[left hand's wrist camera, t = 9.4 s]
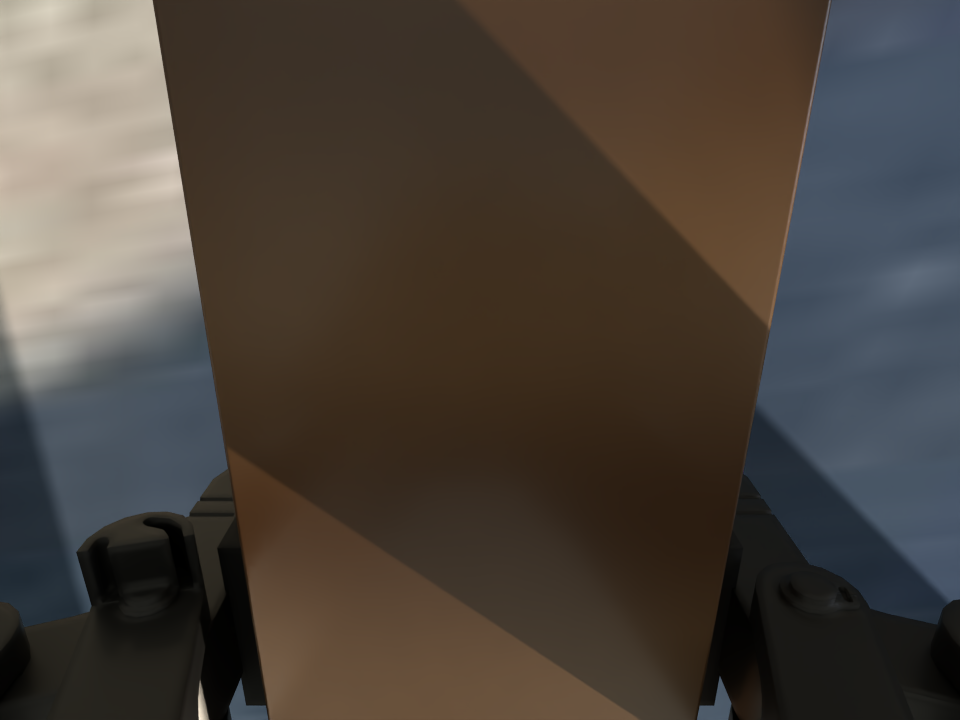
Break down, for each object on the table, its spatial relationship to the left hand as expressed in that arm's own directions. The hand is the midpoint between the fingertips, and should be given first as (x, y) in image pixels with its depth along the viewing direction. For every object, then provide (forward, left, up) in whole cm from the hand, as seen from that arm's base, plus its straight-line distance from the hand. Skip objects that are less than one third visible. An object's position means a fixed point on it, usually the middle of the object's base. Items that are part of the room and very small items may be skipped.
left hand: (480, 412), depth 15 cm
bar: (+3, +30, 0) cm, 30 cm away
